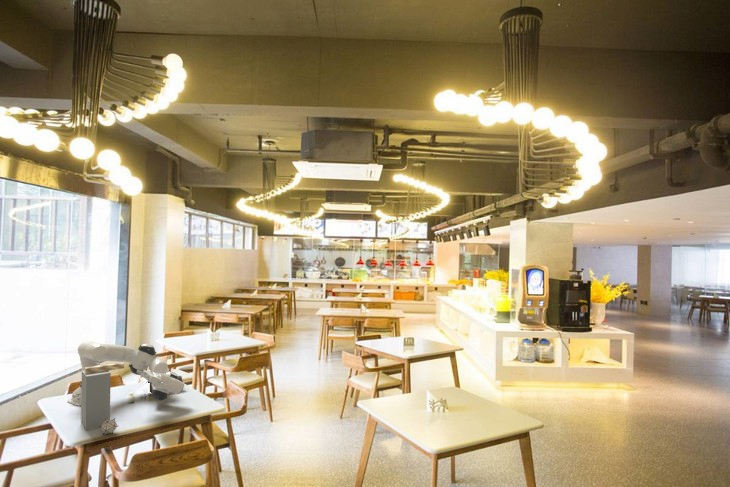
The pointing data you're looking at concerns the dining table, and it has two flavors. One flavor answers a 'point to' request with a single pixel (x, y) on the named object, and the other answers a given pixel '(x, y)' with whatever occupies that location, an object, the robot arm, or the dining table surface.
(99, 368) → the wooden bar
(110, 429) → the dark-edged faceted part
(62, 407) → the dining table surface
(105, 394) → the stand
